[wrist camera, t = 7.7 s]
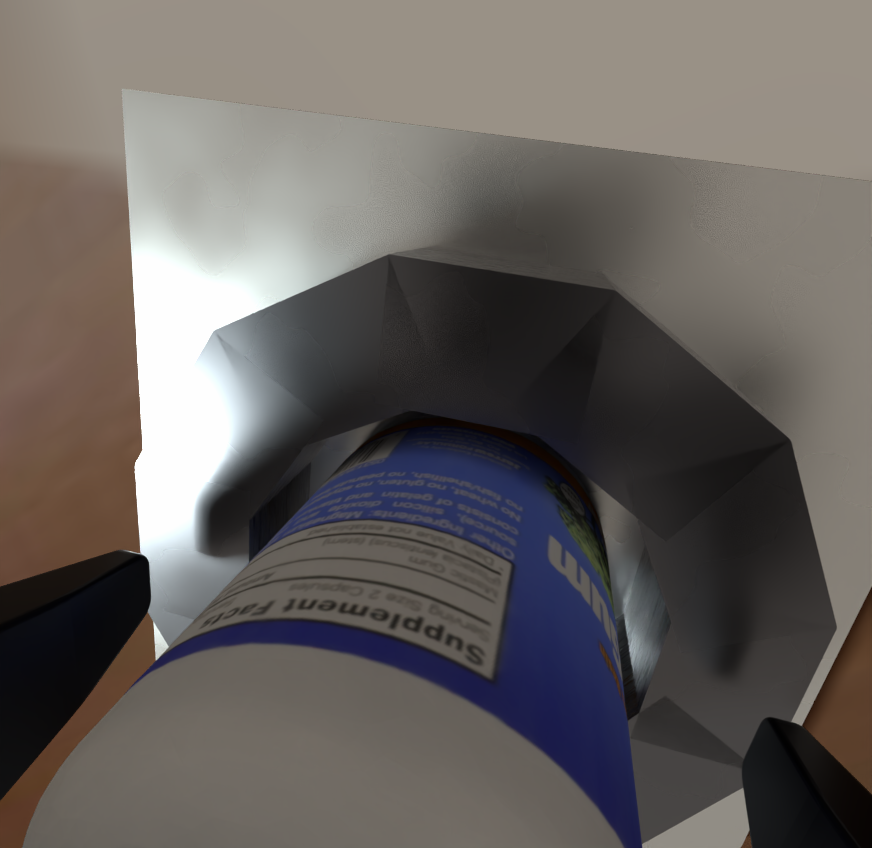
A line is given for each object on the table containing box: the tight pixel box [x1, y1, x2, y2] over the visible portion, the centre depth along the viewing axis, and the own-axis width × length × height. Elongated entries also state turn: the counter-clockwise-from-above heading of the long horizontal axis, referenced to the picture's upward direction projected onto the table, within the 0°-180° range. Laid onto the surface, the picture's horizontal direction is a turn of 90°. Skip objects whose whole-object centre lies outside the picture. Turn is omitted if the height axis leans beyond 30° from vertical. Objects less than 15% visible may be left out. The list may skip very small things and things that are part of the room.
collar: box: [122, 89, 872, 848], centre depth 10 cm, size 14×14×3 cm
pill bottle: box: [22, 415, 642, 848], centre depth 7 cm, size 5×5×10 cm
